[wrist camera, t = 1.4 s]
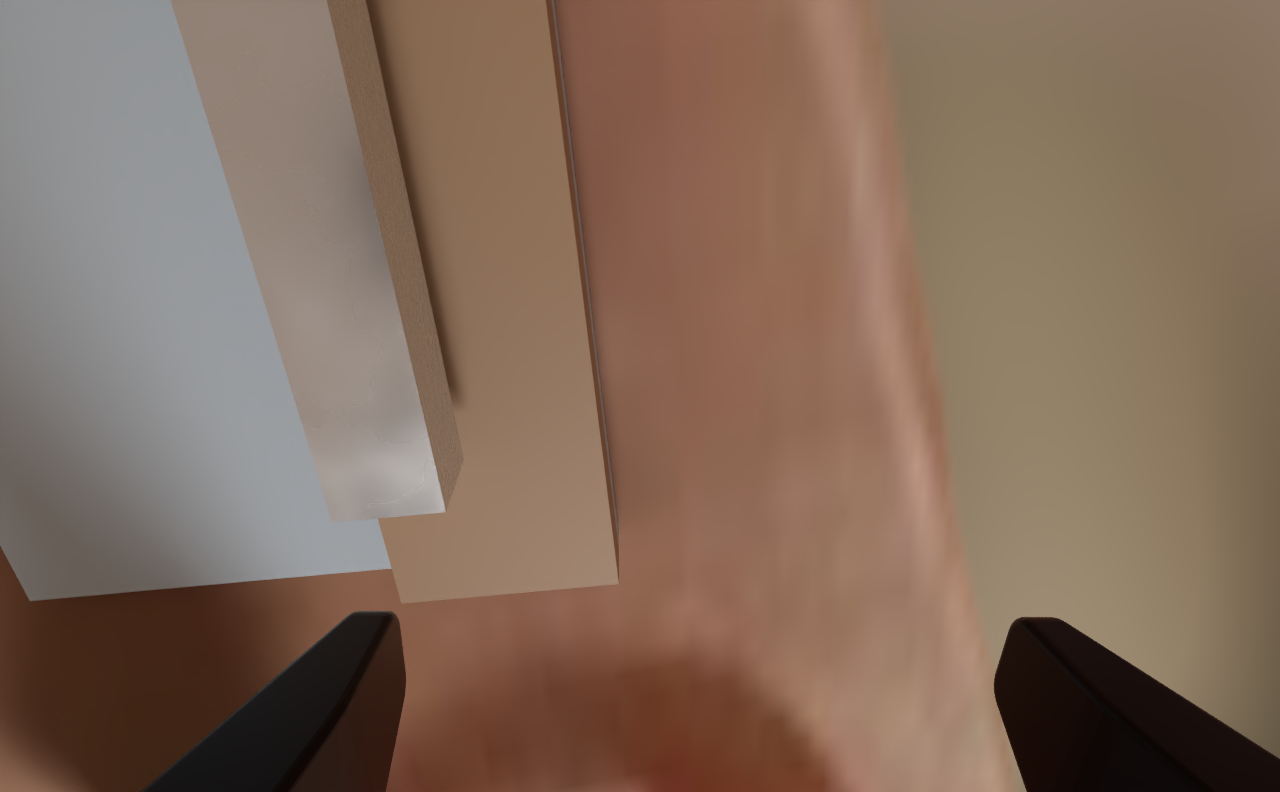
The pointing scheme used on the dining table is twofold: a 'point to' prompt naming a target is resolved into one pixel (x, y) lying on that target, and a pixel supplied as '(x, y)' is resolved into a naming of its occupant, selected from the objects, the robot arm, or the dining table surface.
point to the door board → (242, 333)
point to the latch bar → (331, 243)
